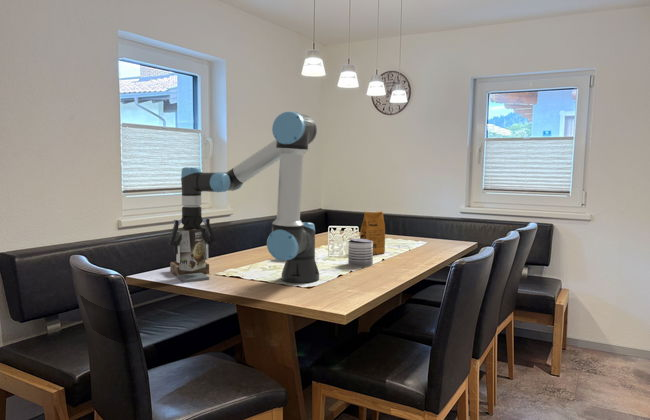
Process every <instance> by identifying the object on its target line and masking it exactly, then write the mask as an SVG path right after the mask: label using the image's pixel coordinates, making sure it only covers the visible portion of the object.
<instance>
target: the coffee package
mask: <svg viewBox="0 0 650 420" xmlns="http://www.w3.org/2000/svg"><path fill="white" fill-rule="evenodd" d="M363 215H364V216H363V220H362V223H361V227H360V230H359V231H360V233H359V239H367V240H371V241H373V255H382V254H385V253H386V247H385V246H386V224H385V218H384V212H383V211H376V212H370V211H369V212H368V211H364V212H363Z"/></svg>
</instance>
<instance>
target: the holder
mask: <svg viewBox="0 0 650 420" xmlns="http://www.w3.org/2000/svg"><path fill="white" fill-rule="evenodd" d="M169 265H170V269H169V270H170V272H171V274H173V275H175V276H176V277H177V275H184V274H193V273H203V274H205V275H208V274H210V264H209V263H208V262H206V261H205V266H206V267H204V268H201V269H197V270H194V271H186V270H180V269H179V263H178V262H177V261H170V263H169Z"/></svg>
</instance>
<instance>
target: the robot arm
mask: <svg viewBox="0 0 650 420" xmlns="http://www.w3.org/2000/svg"><path fill="white" fill-rule="evenodd" d="M271 128H272V129H271V130H272V136H273V137H274V140H272V141H271V142H270V143H268V144H267V145H266V146H264V147H263V148H261V149H259V150H257V151H256V152H255V153H253V154H251V155H250V156H249V157H247V158H246V159H245V160H243V161H242V162H240V163H239V164H237V165H236V166H234V167H233V168H231V169H229V170H228V171H225V172H223V171H222V172H221V171H220V172H219V171H218V172H202V171H201V169H202V168H201V167H182V168H181V174H180V175H181V176H180V181H181V206H182V207H181V219H174V220H173V227H172V231H171V234H170V237H169V240H168V245H170V246H173V254H174V255H176V262H178V263H180V246H179V243H180V241H181V239H182V233H181V234H180V236H179V234H178V235H177V233H178V231H179V227H180V226H181V224H182V225H183V226H182V228H181V230H188V229H200V230H202V235H203V237H204V239H205V261H209V252H211V245H212V243H214V242H215V241H216V239H215V237H214V234H213V231H212V228H211V225H210V224H211V223H210V222H211V221H210V218H208V217H207V218H203V217H202V192H210V193H211V192H212V193H214V192H215V193H222V192H223V193H225V192H227V191H232V192H233V191H237V190H240V189H241V188H242V186H243V185H244V183H246V182H247V181H249V180H250V179H252V178H254V177H256V175H258V174H260V173H261V172H263V171H264V170H266V169H267V168H269V167H270V166H273V165H274V164H276V163H277V162H279V168H278V169H279V170H278V186H277V187H278V189H277V211H276V219H275V220H274V221H272V225H271V232H270V233H269V235H268V237H267V239H266V248H267V251H268V252H269V254H270V255H271V256H272V257H273V258H274V259H275V260H278V261H285V263H284V266H283V268H282V272H281V280H282V281H284V282H287V283H293V284H294V283H295V284H302V283H303V284H304V283H313V282H317V281H319V279H320V272H319V269H318V266H317V261H316V258H315V257H316V227H315V224H314V223H313V222H306V221H305V222H302V220H301V207H302V206H301V205H302V189H303V187H302V185H303V169H304V155H305V154H306V153H307V152H308V151H309V145H310V144H311V143H313V141H314V140H315V139H316V136H317V134H318V131H317V130H318V129H317V125H316V123H315V121H314V119H313V118H311V117H310V116H308V115H305V114H303V113H299V112H297V111H283V112H282V113H280V114H279V115H278V116H277V117H276V118H274V121H273V124H272V127H271ZM202 223H203V224H204V226H205V230H206V231H207V234H206V231H205V232H204V231H203V229H202V228H203V227H202V226H201V225H202ZM207 235H208V236H207ZM176 236H177V237H176Z"/></svg>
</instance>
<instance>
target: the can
mask: <svg viewBox="0 0 650 420" xmlns="http://www.w3.org/2000/svg"><path fill="white" fill-rule="evenodd" d="M347 255H348V259H347V260H348V262H347V263H348V264H347V265H348V266H351V267H357V268H366V267H371V266H373V263H374V262H373V260H374V259H373V258H374V254H373V241H371V240H367V239H360V238H359V237H358V238H354V237H352V238H348V254H347Z"/></svg>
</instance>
